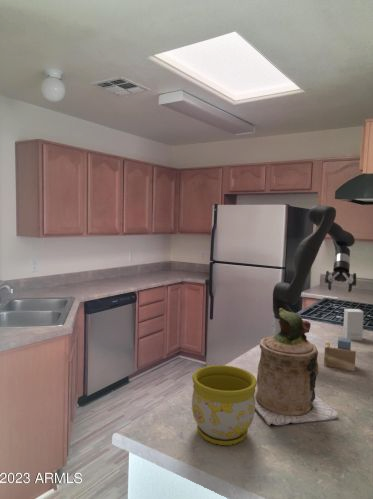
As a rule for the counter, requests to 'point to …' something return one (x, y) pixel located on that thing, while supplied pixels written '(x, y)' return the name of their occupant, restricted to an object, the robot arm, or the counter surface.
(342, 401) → the counter surface
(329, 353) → the oak corner bracket
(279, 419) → the cookie jar
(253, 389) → the flowerpot
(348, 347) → the slate block
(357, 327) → the skincare box
